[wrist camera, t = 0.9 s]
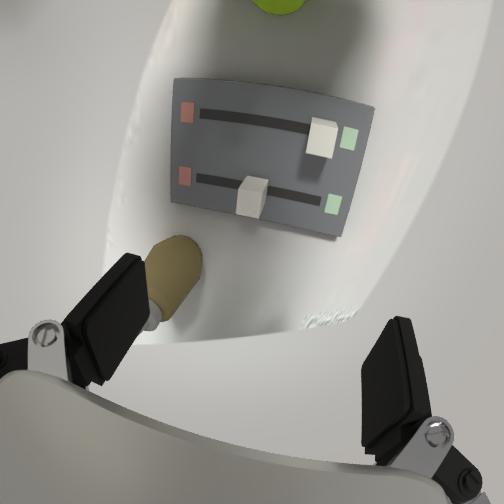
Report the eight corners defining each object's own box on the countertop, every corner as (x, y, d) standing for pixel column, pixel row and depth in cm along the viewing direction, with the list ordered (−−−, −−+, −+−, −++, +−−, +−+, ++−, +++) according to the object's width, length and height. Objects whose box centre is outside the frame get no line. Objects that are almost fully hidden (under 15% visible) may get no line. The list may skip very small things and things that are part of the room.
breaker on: (312, 116, 28) (311, 122, 25) (336, 122, 28) (338, 128, 25) (307, 143, 30) (305, 152, 27) (330, 148, 30) (331, 158, 27)
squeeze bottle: (151, 246, 46) (87, 327, 31) (180, 217, 42) (111, 303, 27) (187, 280, 48) (138, 368, 34) (220, 256, 44) (171, 353, 30)
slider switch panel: (181, 77, 31) (173, 78, 29) (371, 106, 28) (375, 108, 27) (177, 196, 40) (170, 202, 38) (340, 229, 38) (340, 237, 36)
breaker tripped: (247, 175, 34) (238, 188, 30) (268, 179, 33) (262, 193, 30) (244, 199, 35) (235, 214, 32) (265, 203, 35) (258, 218, 32)
